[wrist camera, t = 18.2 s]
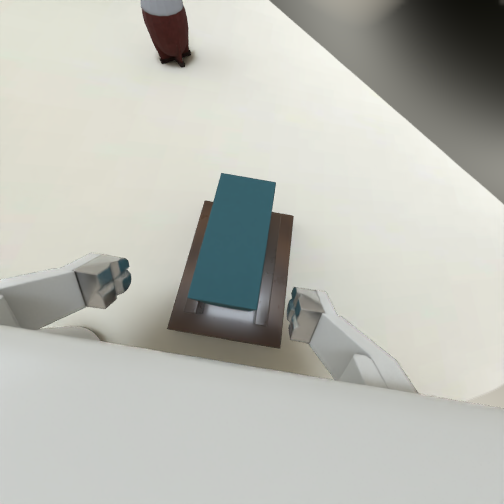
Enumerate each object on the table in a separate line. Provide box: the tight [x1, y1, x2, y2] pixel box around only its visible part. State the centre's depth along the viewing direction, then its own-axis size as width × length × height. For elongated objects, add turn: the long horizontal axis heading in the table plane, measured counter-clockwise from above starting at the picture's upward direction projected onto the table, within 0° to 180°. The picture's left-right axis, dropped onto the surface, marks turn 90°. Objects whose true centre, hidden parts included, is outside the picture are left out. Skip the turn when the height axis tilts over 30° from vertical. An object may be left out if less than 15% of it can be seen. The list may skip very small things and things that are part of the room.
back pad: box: [187, 173, 276, 312], centre depth 17 cm, size 10×4×9 cm, turn 171°
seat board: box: [167, 201, 294, 348], centre depth 21 cm, size 16×12×4 cm
